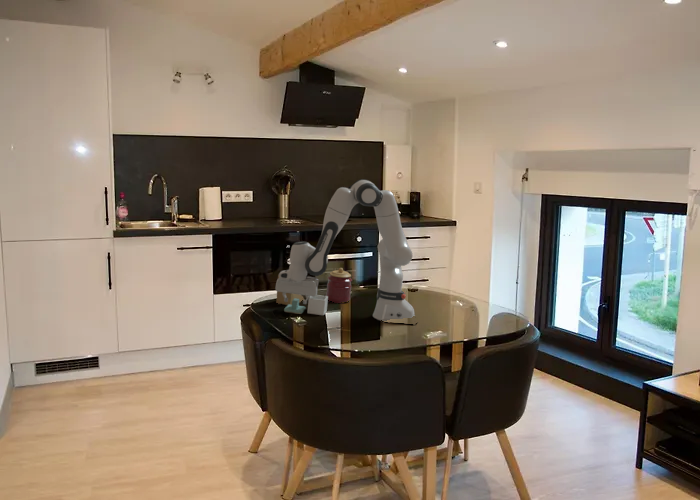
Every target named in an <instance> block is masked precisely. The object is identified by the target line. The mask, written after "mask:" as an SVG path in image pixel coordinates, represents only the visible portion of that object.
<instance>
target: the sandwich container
mask: <svg viewBox="0 0 700 500" xmlns="http://www.w3.org/2000/svg"><path fill="white" fill-rule="evenodd" d="M278 278H279V274H278V275H277V279H278ZM285 295H286V297H288V301H287V302H285V301H284V297H283V292H277V291H276V302H275V303H278V304H277V305H281V304H282V305H285V306H288V304H290V305H292V300H293V299H294V298H296V299H299V303H301V301H302V300H305V298H304V295H299V294H292V293H286V294H285ZM302 302H303V301H302Z"/></svg>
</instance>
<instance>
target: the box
mask: <svg viewBox="0 0 700 500" xmlns="http://www.w3.org/2000/svg"><path fill="white" fill-rule="evenodd" d="M328 303H329V301H328V296H326V295H320V294H317V295H316V296H315V297H313V296H310V297H309V298H308V300H307V304H308V305H307V313H306V314H311V315H319V316H324V315H326V312H327V310H328Z"/></svg>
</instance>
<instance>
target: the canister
mask: <svg viewBox="0 0 700 500" xmlns="http://www.w3.org/2000/svg"><path fill="white" fill-rule="evenodd" d="M351 277H352V274H351V273H349V272H348V271H345V270H344V269H343V267H339V268H338V270H332V271H330V272H329V276H327V283H326V294H325V296H328V300H329V301H328V302H330V301H332V302H331V303H333V302H334V304H342V303H341V302H347V301H349V300H351V291H352V282H353V279H352V278H351ZM349 302H350V301H349Z"/></svg>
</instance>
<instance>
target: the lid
mask: <svg viewBox="0 0 700 500" xmlns="http://www.w3.org/2000/svg"><path fill="white" fill-rule="evenodd" d="M306 309H307V307H306V306H304V305H300V302H299V299H296V298H294V299H293V300H292V305H290V304H288V305H286V306H285V308H284V309H283V311H284V312H285V311H288V312H287V313H290V312H294V313H293V314H297V313H301V314H300V315H302V314H303V313H304V312H305V310H306Z"/></svg>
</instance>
